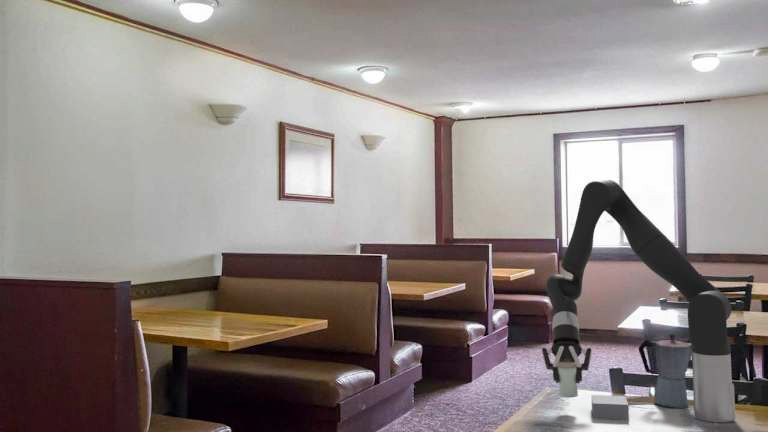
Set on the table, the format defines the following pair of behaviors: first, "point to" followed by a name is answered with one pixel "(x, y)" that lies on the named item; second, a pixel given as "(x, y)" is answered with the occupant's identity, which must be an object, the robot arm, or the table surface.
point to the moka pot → (669, 370)
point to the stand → (610, 407)
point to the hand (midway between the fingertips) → (567, 381)
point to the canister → (567, 378)
